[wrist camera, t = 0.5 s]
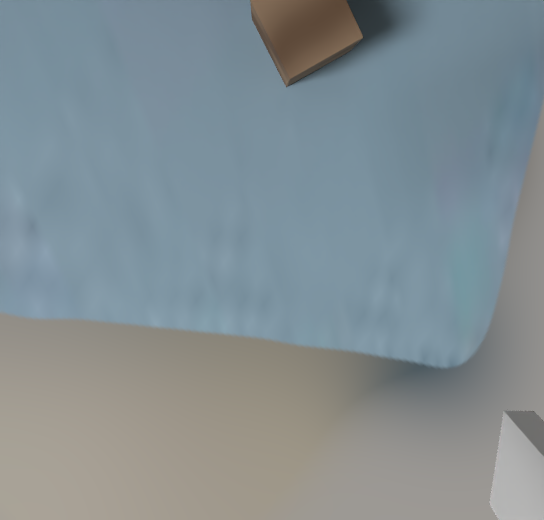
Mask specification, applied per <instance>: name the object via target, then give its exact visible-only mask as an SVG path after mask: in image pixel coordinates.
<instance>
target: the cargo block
mask: <svg viewBox="0 0 544 520" xmlns="http://www.w3.org/2000/svg"><path fill="white" fill-rule="evenodd" d="M250 2H251V13H252V20H253V22H254V24H255V26H256V28H257V30H258V32H259V34H260V36H261V38H262V40H263V42H264V44H265V46H266V48H267V50H268V52H269V54H270V56H271V58H272V60H273V62H274V64H275V66H276V68H277V70H278V72H279V74H280V76H281V78H282V80H283V82H284V83H285V85H286V87H288V86H289V85H291V84H293V83H295V82H296V81H298V80H300V79H302V78H303V77H305V76H307V75H309V74H311V73H312V72H314V71H316V70H318V69H319V68H321V67H323V66H325V65H326V64H328V63H330V62H332V61H333V60H335V59H337V58H339V57H341V56H342V55H344V54H346V53H348V52H349V51H351V49H352V48H353V47H354V46H355V45H356V44H357V43H358V42H359V41H360V40H361V39H362V38H363V35H362V33H361V31H360V29H359V27H358V25H357V22H356V20H355V18H354V16H353V14H352V12H351V9H350V7H349V5H348V3H347V1H346V0H250Z"/></svg>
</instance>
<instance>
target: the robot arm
mask: <svg viewBox="0 0 544 520" xmlns="http://www.w3.org/2000/svg"><path fill="white" fill-rule="evenodd" d="M489 504H490V506H491V507H492V509H493V511H494V513H495V514H496V516H497V517H498V519H499V520H544V421H543V420H542V419H541V418H540V417H539V416H538V415H537V414H536V413H535V412H534V411H504V413H503V419H502V426H501V432H500V439H499V445H498V451H497V458H496V465H495V471H494V477H493V484H492V490H491V497H490V503H489Z"/></svg>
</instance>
